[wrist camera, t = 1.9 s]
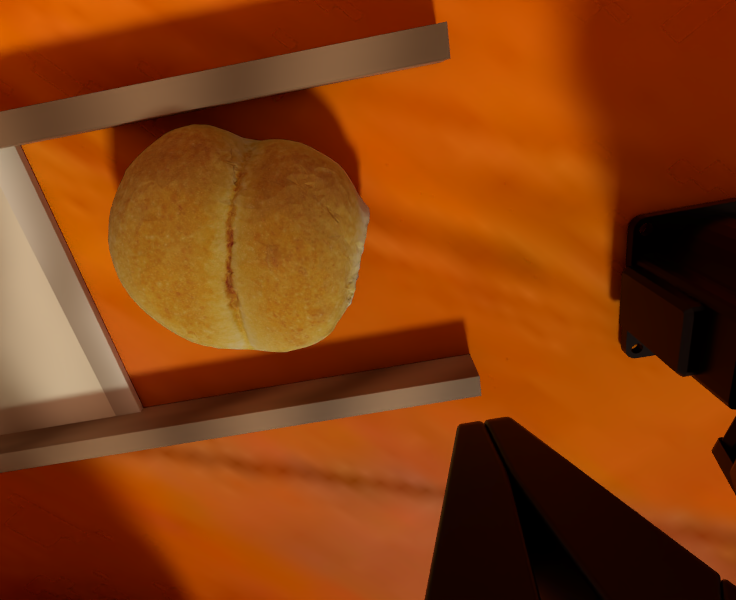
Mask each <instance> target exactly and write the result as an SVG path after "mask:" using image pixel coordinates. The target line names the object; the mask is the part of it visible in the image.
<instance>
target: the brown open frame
mask: <svg viewBox="0 0 736 600" xmlns="http://www.w3.org/2000/svg"><path fill="white" fill-rule="evenodd" d="M447 59H450V50H449V39H448V28H447V22H443V23H438V24H433V25H428V26H423V27H418V28H413V29H408V30H403V31H398V32H393V33H388V34H383V35H378V36H373V37H368V38H363V39H358V40H353V41H348V42H343V43H338V44H334V45H329V46H324V47H319V48H314V49H309V50H304V51H299V52H294V53H289V54H284V55H279V56H274V57H269V58H264V59H259V60H254V61H249V62H244V63H239V64H234V65H229V66H225V67H220V68H215V69H210V70H205V71H200V72H195V73H190V74H185V75H180V76H175V77H170V78H165V79H160V80H155V81H150V82H145V83H140V84H135V85H130V86H125V87H120V88H116V89H111V90H106V91H101V92H96V93H91V94H86V95H81V96H76V97H71V98H66V99H61V100H56V101H51V102H46V103H41V104H36V105H31V106H26V107H21V108H16V109H11V110H7V111H2V112H0V473H2V472H8V471H15V470H21V469H27V468H33V467H39V466H46V465H52V464H58V463H64V462H71V461H77V460H83V459H89V458H95V457H102V456H108V455H114V454H120V453H127V452H133V451H139V450H145V449H151V448H158V447H164V446H170V445H176V444H183V443H189V442H195V441H201V440H207V439H214V438H220V437H226V436H232V435H239V434H245V433H251V432H257V431H263V430H270V429H276V428H282V427H288V426H295V425H301V424H307V423H313V422H319V421H326V420H332V419H338V418H344V417H351V416H357V415H363V414H369V413H375V412H382V411H388V410H394V409H400V408H407V407H413V406H419V405H425V404H431V403H438V402H444V401H450V400H456V399H463V398H469V397H475V396H481V387H480V376H479V374H478V372H477V369H476V367H475V365H474V363H473V360H472V358H471V356H470V354H467V355H461V356H455V357H449V358H443V359H437V360H431V361H425V362H419V363H413V364H406V365H400V366H394V367H388V368H382V369H376V370H370V371H364V372H358V373H352V374H346V375H340V376H334V377H328V378H322V379H316V380H310V381H304V382H298V383H292V384H286V385H279V386H273V387H267V388H261V389H255V390H249V391H243V392H237V393H231V394H225V395H219V396H213V397H207V398H201V399H195V400H189V401H183V402H177V403H171V404H165V405H159V406H153V407H146V408H143V406H142V404H141V402H140V400H139V398H138V395H137V393H136V391H135V389H134V387H133V385H132V383H131V380H130V378H129V376H128V374H127V372H126V370H125V368H124V366H123V363H122V361H121V359H120V357H119V355H118V353H117V351H116V348H115V346H114V344H113V342H112V340H111V338H110V336H109V334H108V331H107V329H106V327H105V325H104V323H103V321H102V319H101V316H100V314H99V312H98V310H97V308H96V306H95V304H94V302H93V299H92V297H91V295H90V293H89V291H88V289H87V287H86V285H85V282H84V280H83V278H82V276H81V274H80V272H79V270H78V267H77V265H76V263H75V261H74V259H73V257H72V255H71V253H70V250H69V248H68V246H67V244H66V242H65V240H64V238H63V235H62V233H61V231H60V229H59V227H58V225H57V223H56V221H55V218H54V216H53V214H52V212H51V210H50V208H49V206H48V203H47V201H46V199H45V197H44V195H43V193H42V191H41V189H40V186H39V184H38V182H37V180H36V178H35V176H34V174H33V171H32V169H31V167H30V165H29V163H28V161H27V159H26V157H25V154H24V152H23V150H22V148H21V146H20V145H24V144H29V143H34V142H39V141H44V140H49V139H54V138H60V137H65V136H70V135H75V134H80V133H85V132H90V131H95V130H100V129H105V128H110V127H115V126H120V125H125V124H130V123H135V122H141V121H146V120H151V119H156V118H161V117H166V116H171V115H176V114H181V113H186V112H191V111H196V110H201V109H206V108H211V107H216V106H222V105H227V104H232V103H237V102H242V101H247V100H252V99H257V98H262V97H267V96H272V95H277V94H282V93H287V92H292V91H297V90H302V89H308V88H313V87H318V86H323V85H328V84H333V83H338V82H343V81H348V80H353V79H358V78H363V77H368V76H373V75H378V74H383V73H389V72H394V71H399V70H404V69H409V68H414V67H419V66H424V65H429V64H434V63H439V62H442V61H445V60H447Z"/></svg>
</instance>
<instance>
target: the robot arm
mask: <svg viewBox="0 0 736 600" xmlns="http://www.w3.org/2000/svg"><path fill="white" fill-rule="evenodd" d="M645 223H646V224H647V227H646V229H645V230H644V231H643V232H641V233H640V231H639V230H640V227H641V226H642V225H643V224H645ZM619 323H620V325H621V326H622V336H621V349H622V351H623V352H624V353H625V354H626V355H627V356H628V357H631V358H640V357H646V356H653V355H656V356H657V357H658V358H660V359H661V360H662V361H663V362H664V363H665V364H667V365H668V366H669V367H670V368H671V369H672V370H674V371H675V372H676V373H677V374H679V375H680V376H682V377H686V376H692V377H693V378H694V379H695V380H697V381H698V382H699V383H700V384H701V385H703V386H704V387H705V388H706V389H707V390H709V391H710V392H711V393H712V394H713V395H715V396H716V397H717V398H718V399H720V400H721V401H722V402H723V403H724V404H726V405H727V406H728V407H729V408H731V409H735V410H736V198H732V199H726V200H720V201H715V202H709V203H703V204H698V205H692V206H687V207H681V208H675V209H670V210H664V211H658V212H653V213H647V214H641V215H639V216H636V217H635V218H633V219H632V220H631V222H630V223H629V226H628V233H627V250H626V267H625V269H624V270H623V272H622V279H621V297H620V315H619ZM635 344H637V346H636V347H635V348H633V349H632V347H633V346H634V345H635ZM712 453H713V455H714V457H715V459H716V460H717V462H718V464H719V466H720V468H721V469H722V471H723V473H724V475H725V477H726V479H727V480H728V482H729V484H730V486H731V488H732V489H733V491H734V493H735V495H736V416H735V418H734V420H733V422H732V423H731V425H730V427H729V428H728V430H727V432H726V434H725V435H724V437H720V438H718V440H717V442H716V444H715V445H714V447H713V449H712ZM425 600H736V586H735V585H733V584H732V583H731V582H729V581H728V580H726V579H723V580H721V579H720V575H719V574H718V573H717V572H716V571H714V570H713V569H712V568H710V567H709V566H708V565H706V564H705V563H704V562H702V561H701V560H700V559H698V558H697V557H696V556H694V555H693V554H692V553H690V552H689V551H688V550H686V549H685V548H684V547H682V546H681V545H680V544H678V543H677V542H676V541H674V540H673V539H672V538H670V537H669V536H668V535H666V534H665V533H664V532H662V531H661V530H660V529H658V528H657V527H656V526H654V525H653V524H652V523H650V522H649V521H648V520H646V519H645V518H644V517H642V516H641V515H640V514H638V513H637V512H636V511H634V510H633V509H632V508H630V507H629V506H628V505H626V504H625V503H624V502H622V501H621V500H620V499H618V498H617V497H616V496H614V495H613V494H612V493H610V492H609V491H608V490H606V489H605V488H604V487H602V486H601V485H600V484H598V483H597V482H596V481H594V480H593V479H592V478H590V477H589V476H588V475H586V474H585V473H584V472H582V471H581V470H580V469H578V468H577V467H576V466H575V465H573V464H572V463H571V462H569V461H568V460H567V459H565V458H564V457H563V456H561V455H560V454H559V453H557V452H556V451H555V450H553V449H552V448H551V447H549V446H548V445H547V444H545V443H544V442H543V441H541V440H540V439H539V438H537V437H536V436H535V435H533V434H532V433H531V432H529V431H528V430H527V429H525V428H524V427H523V426H521V425H520V424H519V423H517V422H516V421H515V420H513V419H512V418H509V417H501V418H495V419H489V420H486V421H485V423H483V422H481V421H476V422H470V423H464V424H460V425H459V426H458V428H457V432H456V437H455V442H454V448H453V453H452V458H451V463H450V469H449V474H448V479H447V485H446V490H445V495H444V500H443V506H442V511H441V516H440V521H439V527H438V532H437V537H436V542H435V548H434V553H433V558H432V563H431V569H430V574H429V579H428V585H427V590H426V595H425Z"/></svg>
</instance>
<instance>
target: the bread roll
mask: <svg viewBox="0 0 736 600" xmlns="http://www.w3.org/2000/svg"><path fill="white" fill-rule="evenodd" d="M369 215H370V212H369V208H368V206H367V205H366V204H365V203H364V201H363V200H362V198H361V197H360V196H359V194H358V193H357V191H356V189H355V186H354V185H353V183H352V181H351V180H350V178H349V176H348V175H347V173H346V172H345V171H344V169H343V168H342V167H341V166H340V165H339V164H338V163H337V162H335V161H334V160H332V159H331V158H329V157H328V156H326V155H324V154H323V153H321V152H319V151H317V150H315V149H314V148H312V147H309V146H307V145H305V144H303V143H300V142H295V141H290V140H285V139H268V140H262V141H261V140H253V139H247V138H242V137H240V136H238V135H236V134H234V133H231V132H229V131H226V130H223V129H220V128H217V127H215V126H211V125H200V124H192V125H188V126H185V127H181V128H177V129H174V130H171V131H170V132H168V133H166V134H164V135H163V136H162V137H160V138H159V139H157V140H156V141H155V142H153V143H152V144H151V145H150V146H149V147H147V148H146V149H145V150H144V151H143V152H142V153H141V154H140V155H139V156H138V157H137V158H136V159H135V160H134V161H133V162H132V163H131V165H130V166H129V167H128V168H127V169H126V171H125V174H124V177H123V179H122V180H121V183H120V185H119V187H118V190H117V193H116V195H115V198H114V201H113V204H112V207H111V211H110V218H109V234H108V242H109V250H110V253H111V257H112V261H113V264H114V267H115V270H116V272H117V275H118V277H119V279H120V281H121V283H122V285H123V287H124V288H125V289H126V291H127V292H128V293H129V295H130V296H131V298H132V299H133V300H134V301H135V302H136V303H137V304H138V305H139V306H140V308H141V309H143V310H144V311H145V312H146V313H147V314H148V315H150V316H151V317H152V318H153V319H155V320H156V321H157V322H159V323H160V324H161V325H163V326H164V327H166V328H167V329H169V330H170V331H172V332H174V333H175V334H177V335H179V336H181V337H183V338H185V339H187V340H189V341H191V342H194V343H197V344H200V345H204V346H211V347H215V348H225V349H251V350H261V351H269V352H288V351H292V350H296V349H300V348H304V347H308V346H311V345H313V344H315V343H317V342H319V341H321V340H322V339H324V338H325V337H327V336H328V335H329V334H330V333H331V332H332V331H333V330H334V328H335V326H336V324H337V323H338V321H339V320H340V318H341V317H342V315H343V314H344V312H345V310H346V309H347V307H348V306H349V305H350V304H351V303H352V298H353V296H354V292H355V290H356V287H355V284H356V280H357V278H358V270H359V269H360V262H361V261H360V259H361V254H362V253H363V249H364V242H365V238H366V232H367V225H368V223H369Z"/></svg>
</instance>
